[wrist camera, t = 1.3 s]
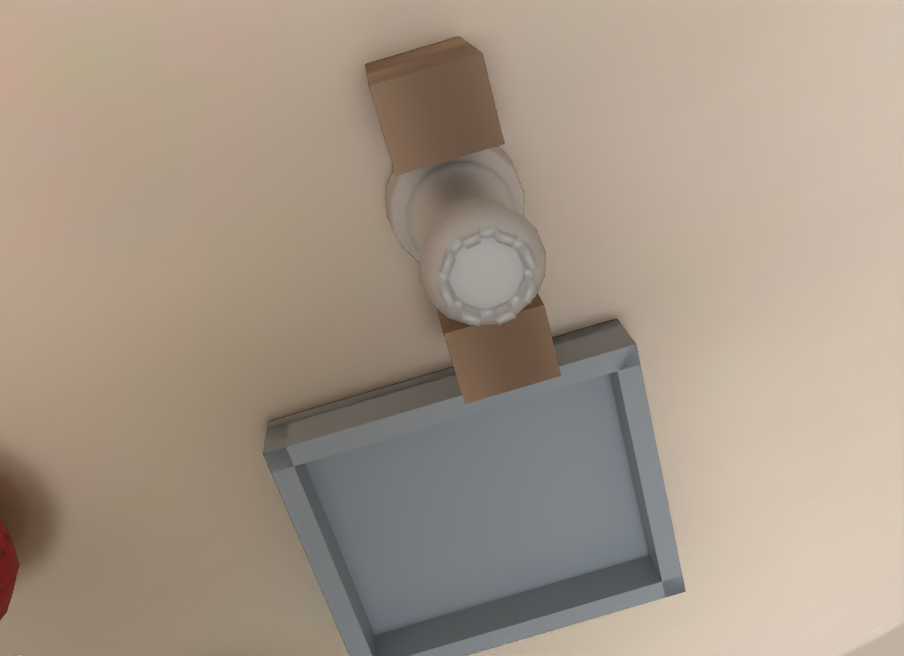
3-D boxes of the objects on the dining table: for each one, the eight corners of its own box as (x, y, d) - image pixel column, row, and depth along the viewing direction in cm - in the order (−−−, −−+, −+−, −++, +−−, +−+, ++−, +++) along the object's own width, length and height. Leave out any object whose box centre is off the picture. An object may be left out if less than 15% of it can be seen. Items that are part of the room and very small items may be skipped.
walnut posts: (447, 337, 30) (464, 404, 26) (365, 64, 26) (368, 86, 22) (529, 312, 30) (561, 375, 26) (458, 36, 26) (482, 52, 22)
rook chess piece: (431, 101, 27) (462, 154, 20) (545, 174, 28) (614, 249, 21) (359, 219, 28) (363, 309, 21) (471, 284, 30) (512, 390, 22)
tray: (361, 644, 35) (362, 685, 33) (268, 421, 31) (263, 453, 29) (666, 555, 35) (685, 591, 33) (617, 318, 31) (635, 344, 29)
